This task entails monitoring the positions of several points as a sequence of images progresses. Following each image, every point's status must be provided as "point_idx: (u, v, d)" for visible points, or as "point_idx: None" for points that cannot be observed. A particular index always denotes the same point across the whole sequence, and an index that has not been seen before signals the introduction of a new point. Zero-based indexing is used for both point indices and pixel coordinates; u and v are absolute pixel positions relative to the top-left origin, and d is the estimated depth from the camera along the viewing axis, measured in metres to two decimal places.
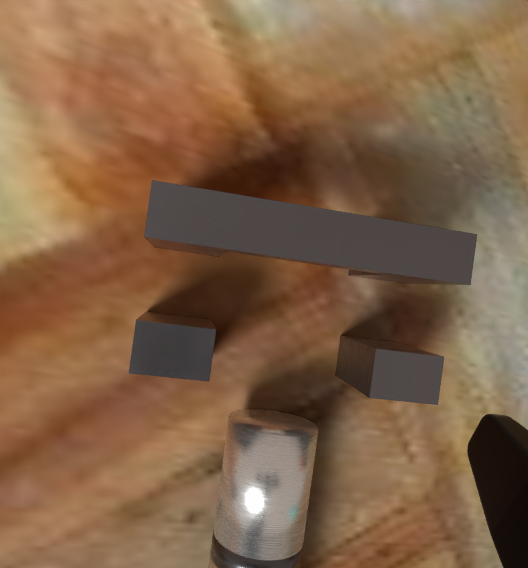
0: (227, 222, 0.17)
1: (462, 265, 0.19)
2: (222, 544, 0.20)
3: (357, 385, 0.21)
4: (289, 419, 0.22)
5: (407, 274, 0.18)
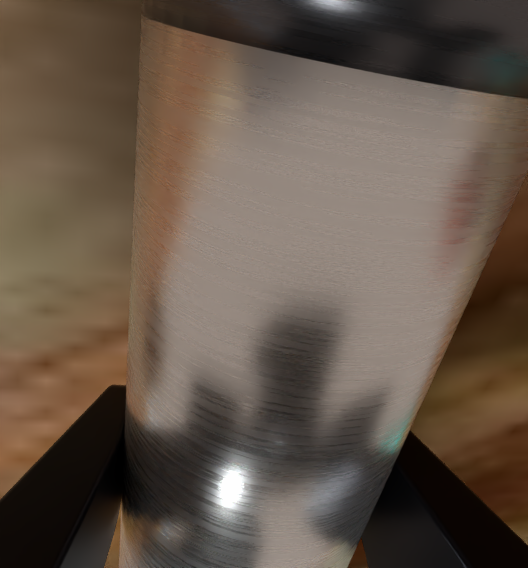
0: None
1: None
2: None
3: None
4: None
5: None
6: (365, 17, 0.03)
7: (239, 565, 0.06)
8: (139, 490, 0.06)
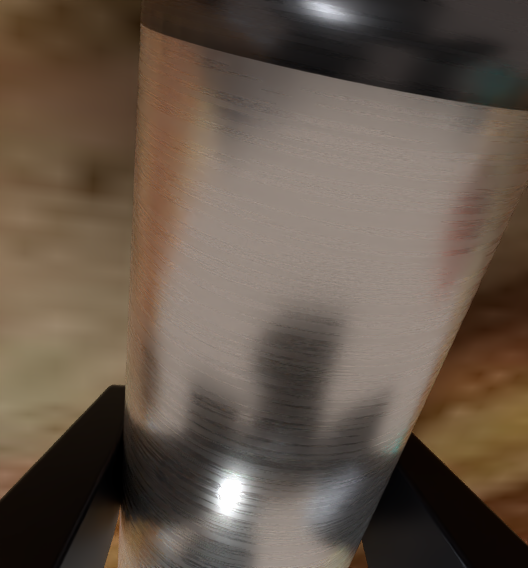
0: None
1: None
2: None
3: None
4: None
5: None
6: (362, 29, 0.03)
7: None
8: (137, 495, 0.06)
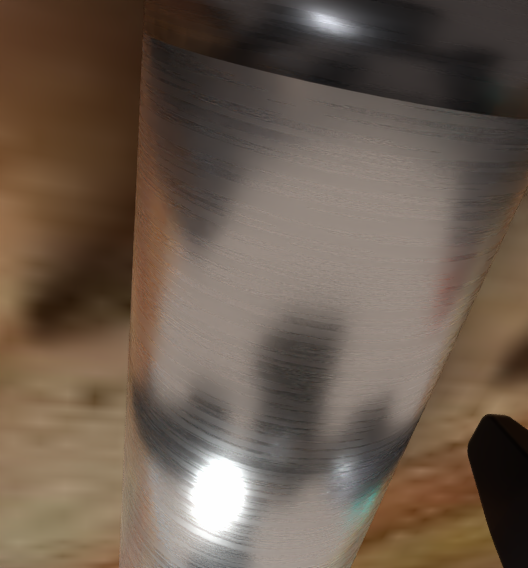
0: None
1: None
2: None
3: None
4: None
5: None
6: (367, 43, 0.03)
7: None
8: (140, 500, 0.06)
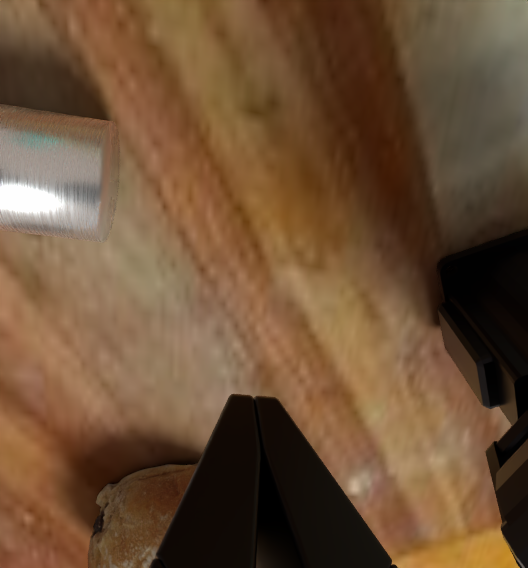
0: None
1: None
2: None
3: None
4: None
5: None
6: None
7: None
8: None
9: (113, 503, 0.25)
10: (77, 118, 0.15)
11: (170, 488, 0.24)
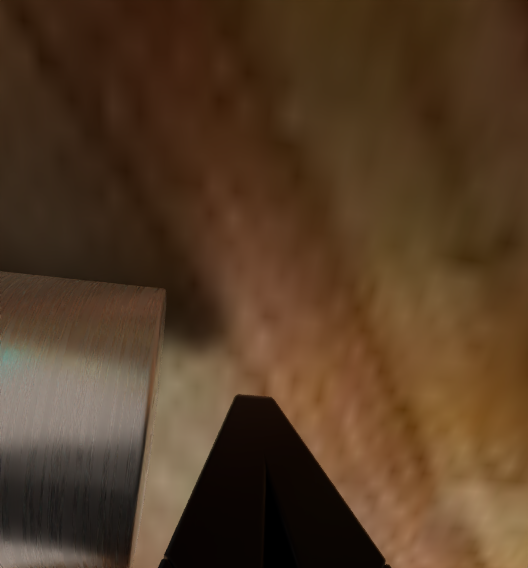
0: None
1: None
2: None
3: None
4: None
5: None
6: None
7: None
8: None
9: None
10: (87, 293, 0.06)
11: None
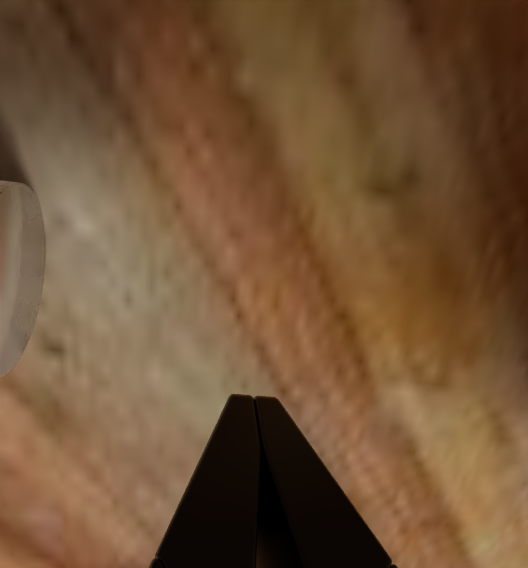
0: None
1: None
2: None
3: None
4: None
5: None
6: None
7: None
8: None
9: None
10: None
11: None
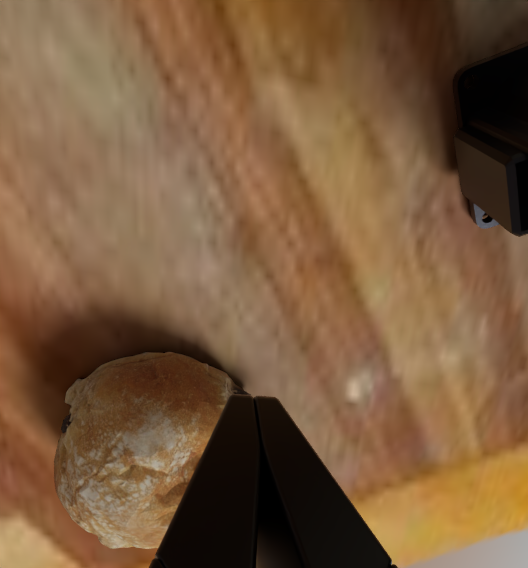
0: None
1: None
2: None
3: None
4: None
5: None
6: None
7: None
8: None
9: (82, 394, 0.22)
10: None
11: (147, 372, 0.21)
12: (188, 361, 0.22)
